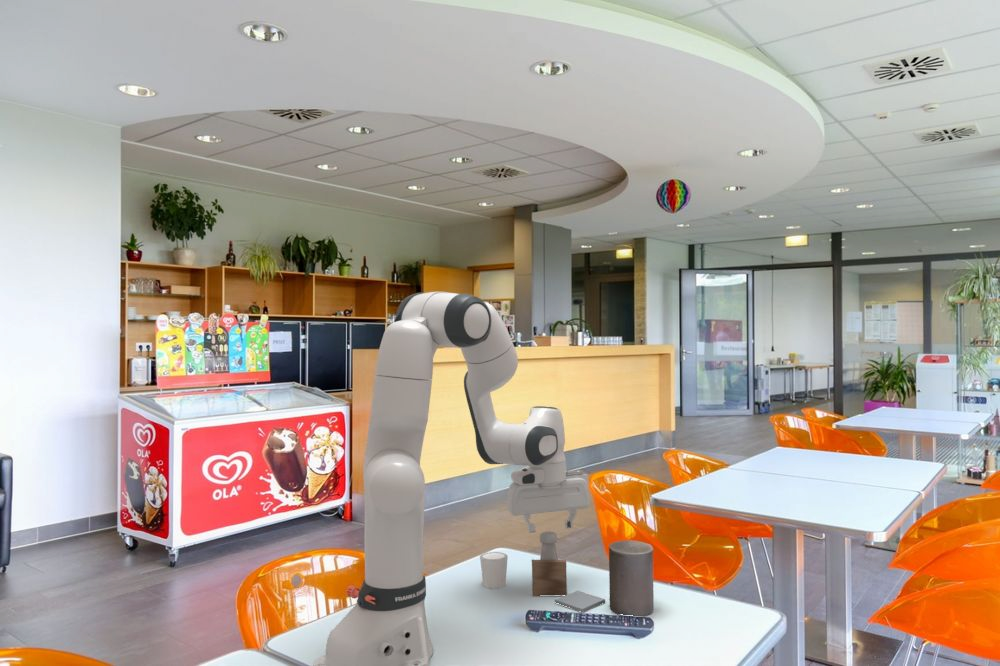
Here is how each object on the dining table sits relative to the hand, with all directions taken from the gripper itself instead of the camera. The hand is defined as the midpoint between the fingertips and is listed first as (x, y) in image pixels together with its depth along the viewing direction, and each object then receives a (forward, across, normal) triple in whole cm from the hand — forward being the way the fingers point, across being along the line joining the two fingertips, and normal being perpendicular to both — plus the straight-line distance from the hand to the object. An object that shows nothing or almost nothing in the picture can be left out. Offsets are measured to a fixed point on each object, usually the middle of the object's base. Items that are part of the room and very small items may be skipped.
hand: (550, 529), depth 165 cm
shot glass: (+14, +13, -6) cm, 20 cm away
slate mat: (+14, -3, +12) cm, 18 cm away
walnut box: (+14, +2, +5) cm, 15 cm away
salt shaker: (+14, +1, 0) cm, 14 cm away
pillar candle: (+14, -12, +18) cm, 26 cm away
